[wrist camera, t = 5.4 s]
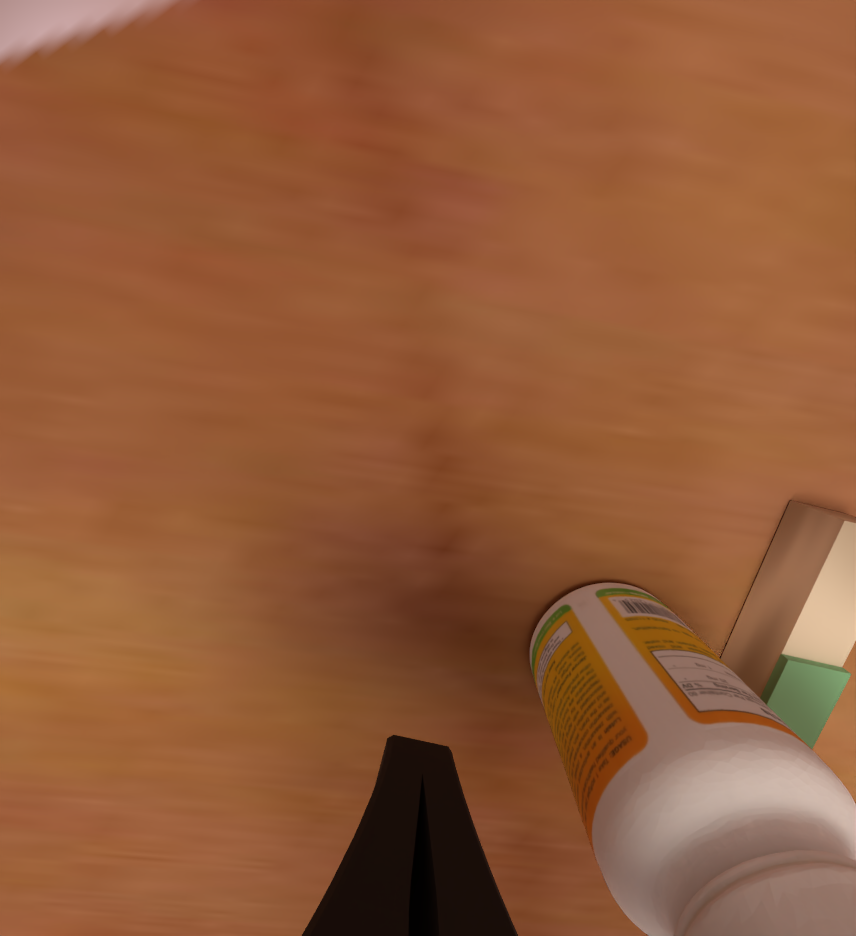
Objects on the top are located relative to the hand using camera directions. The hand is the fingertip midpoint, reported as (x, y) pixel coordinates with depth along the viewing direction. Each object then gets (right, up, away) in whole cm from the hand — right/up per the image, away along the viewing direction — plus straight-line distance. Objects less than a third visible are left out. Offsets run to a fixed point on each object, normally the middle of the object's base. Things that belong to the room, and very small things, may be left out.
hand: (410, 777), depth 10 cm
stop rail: (+12, -1, +7) cm, 14 cm away
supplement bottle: (+7, 0, +7) cm, 9 cm away
